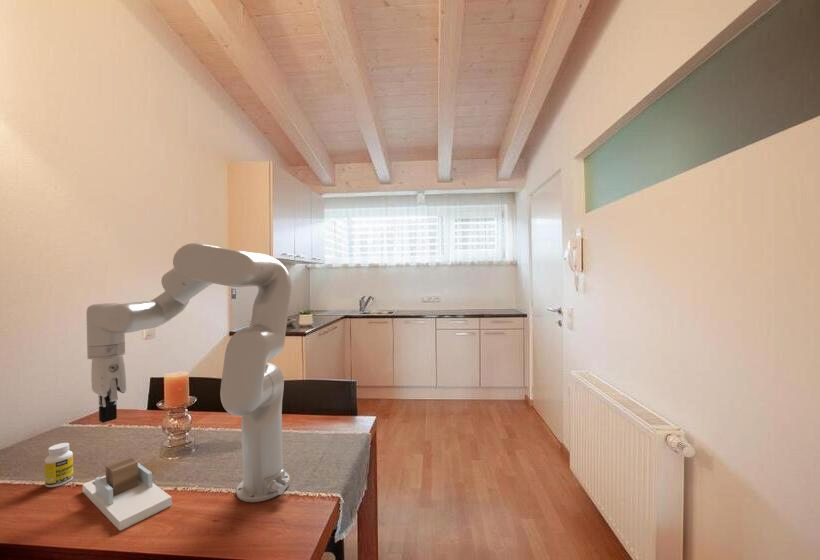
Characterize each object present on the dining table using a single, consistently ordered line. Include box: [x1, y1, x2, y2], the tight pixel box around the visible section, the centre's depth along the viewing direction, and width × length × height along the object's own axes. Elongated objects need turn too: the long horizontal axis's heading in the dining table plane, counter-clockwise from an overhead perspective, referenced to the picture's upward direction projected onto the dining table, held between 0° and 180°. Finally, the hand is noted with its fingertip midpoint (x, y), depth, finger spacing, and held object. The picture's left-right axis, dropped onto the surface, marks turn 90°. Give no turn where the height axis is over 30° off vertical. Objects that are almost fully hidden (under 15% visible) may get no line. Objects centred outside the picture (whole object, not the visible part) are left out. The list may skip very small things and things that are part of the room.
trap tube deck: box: [82, 462, 173, 531], centre depth 87 cm, size 26×10×6 cm, turn 56°
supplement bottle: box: [44, 442, 74, 488], centre depth 95 cm, size 5×5×10 cm
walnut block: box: [105, 456, 139, 496], centre depth 88 cm, size 5×5×6 cm
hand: (108, 420), depth 92 cm, fingers closed
